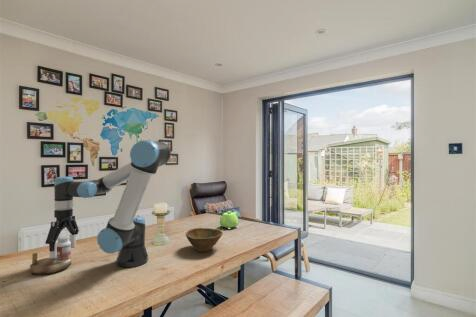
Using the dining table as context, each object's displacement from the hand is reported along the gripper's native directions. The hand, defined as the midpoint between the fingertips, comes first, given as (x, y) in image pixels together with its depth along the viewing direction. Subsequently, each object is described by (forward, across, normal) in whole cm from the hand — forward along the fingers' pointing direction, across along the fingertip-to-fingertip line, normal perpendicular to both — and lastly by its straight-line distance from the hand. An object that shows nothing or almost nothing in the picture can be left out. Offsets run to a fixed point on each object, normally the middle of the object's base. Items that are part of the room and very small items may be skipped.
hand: (63, 252), depth 129 cm
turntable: (+6, +3, -4) cm, 7 cm away
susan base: (+7, +3, -4) cm, 8 cm away
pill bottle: (+4, 0, 0) cm, 4 cm away
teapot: (+8, -81, +75) cm, 111 cm away
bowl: (+8, -31, +64) cm, 71 cm away
